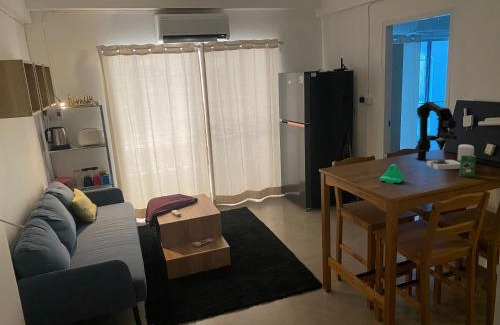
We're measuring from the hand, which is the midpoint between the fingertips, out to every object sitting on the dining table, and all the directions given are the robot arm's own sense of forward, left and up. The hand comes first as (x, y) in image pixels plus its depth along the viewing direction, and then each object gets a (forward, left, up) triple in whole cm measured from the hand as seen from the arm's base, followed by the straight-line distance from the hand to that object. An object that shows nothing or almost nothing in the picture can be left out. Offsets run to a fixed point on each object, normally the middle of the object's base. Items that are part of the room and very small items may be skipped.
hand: (441, 149), depth 253 cm
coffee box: (+26, +2, -12) cm, 29 cm away
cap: (0, 0, -12) cm, 12 cm away
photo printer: (-12, +25, -12) cm, 31 cm away
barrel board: (0, +3, -12) cm, 12 cm away
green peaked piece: (+29, -46, -12) cm, 56 cm away
